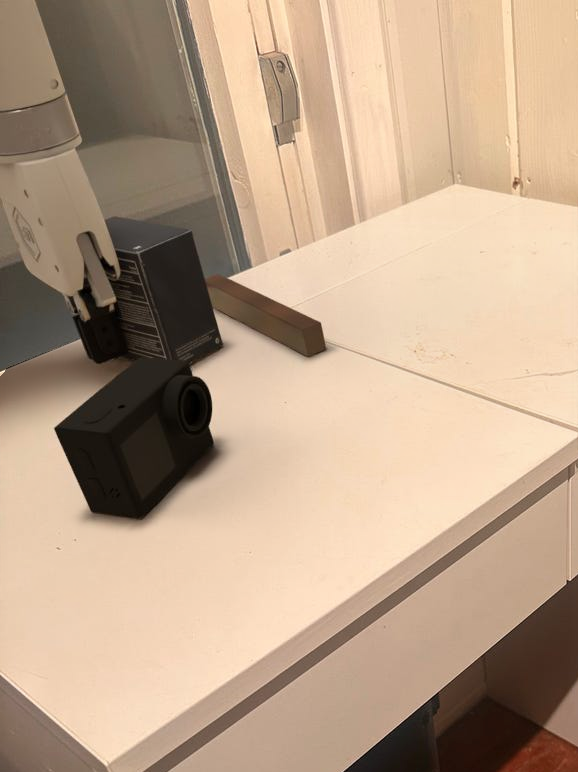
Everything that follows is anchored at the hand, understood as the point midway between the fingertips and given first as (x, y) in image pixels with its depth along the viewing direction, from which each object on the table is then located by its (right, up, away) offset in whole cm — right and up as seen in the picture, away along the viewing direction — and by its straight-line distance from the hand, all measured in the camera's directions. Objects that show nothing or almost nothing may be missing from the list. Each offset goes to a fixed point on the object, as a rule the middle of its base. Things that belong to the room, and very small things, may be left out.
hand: (109, 356), depth 81 cm
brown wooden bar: (+13, +4, +5) cm, 14 cm away
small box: (+4, +2, +3) cm, 5 cm away
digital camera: (+9, -13, -13) cm, 21 cm away
